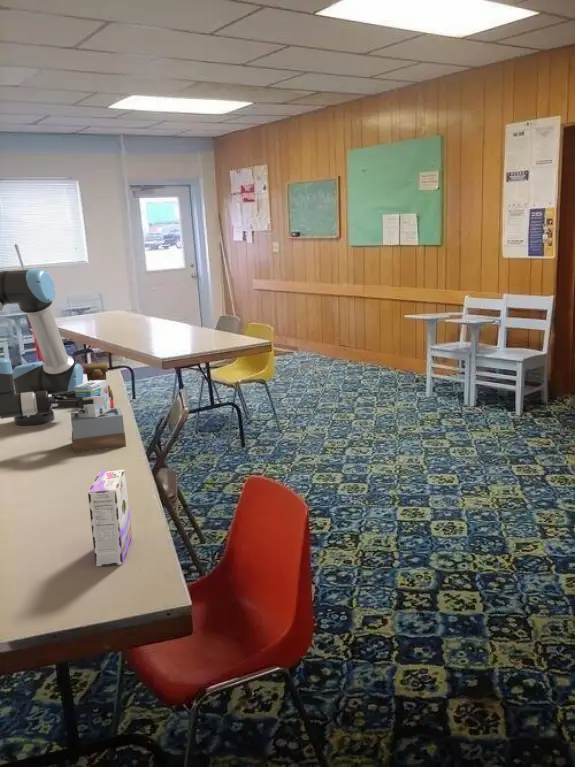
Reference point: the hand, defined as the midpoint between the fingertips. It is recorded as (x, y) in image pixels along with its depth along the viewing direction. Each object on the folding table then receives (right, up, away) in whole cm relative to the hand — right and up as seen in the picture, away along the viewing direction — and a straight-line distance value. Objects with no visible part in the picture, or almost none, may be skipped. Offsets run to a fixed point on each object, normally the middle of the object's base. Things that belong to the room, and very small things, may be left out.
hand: (102, 395), depth 233 cm
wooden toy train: (-20, -5, +69) cm, 72 cm away
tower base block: (-2, -17, +3) cm, 17 cm away
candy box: (+25, -32, -84) cm, 94 cm away
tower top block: (-2, -12, +2) cm, 12 cm away
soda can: (-5, -13, +22) cm, 26 cm away
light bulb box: (-3, -6, 0) cm, 7 cm away
